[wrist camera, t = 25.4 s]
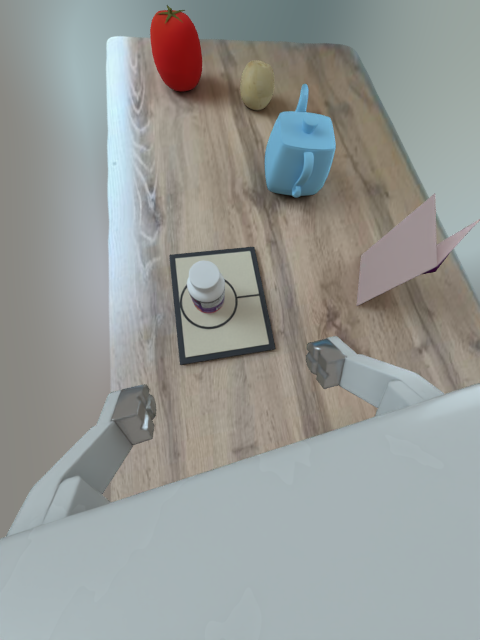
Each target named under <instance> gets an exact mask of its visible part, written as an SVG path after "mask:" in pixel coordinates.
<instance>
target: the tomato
mask: <svg viewBox="0 0 480 640" xmlns="http://www.w3.org/2000/svg"><path fill="white" fill-rule="evenodd" d="M167 8H168V10H167V11H166V10H164V11H158V12H157V13H156V14H155V16H154V17H153V19H152V23H151V29H150V32H151V46H152V53H153V57H154V62H155V65H156V67H157V70H158V72H159V74H160V76H161V78H162V80H163V81H164V82H165V84H166V85H167V86H169V87H170V88H171V89H173V90H176V91H188V90H191V89H193V88H194V87H195V86H196V85H197V84H198V82H199V79H200V77H201V72H202V54H201V47H200V41H199V38H198V34H197V31H196V29H195V26H194V24H193V23H192V21H191V20H190V18H189V17H188V16H187V15H186V14H184V13H182V12H181V11H184V10H179V11H173V10H172V9H171V8H169V6H167Z"/></svg>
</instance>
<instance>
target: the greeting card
mask: <svg viewBox="0 0 480 640" xmlns="http://www.w3.org/2000/svg"><path fill="white" fill-rule="evenodd" d="M479 221H480V219H479V220H477V221H476V222H474V223H472V224H471V225H469V226H467V227H466V228H464V229H462V230H461V231H459V232H457V233H455V234H454V235H452V236H450V237H449V238H447V239H445V240H444V241H442V242H440V243H439V244H437V245H436V209H435V194H434V195H432V196H431V197H430V198H429V199H427V200H426V201H425V202H424V203H423V204H422V205H420V206H419V207H418V208H417V209H416V210H414V211H413V212H412V213H411V214H410V215H408V216H407V217H406V218H405V219H404V220H403V221H401V222H400V223H399V224H398V225H397V226H395V227H394V228H393V229H392V230H391V231H389V232H388V233H387V234H386V235H385V236H383V237H382V238H381V239H380V240H379V241H378V242H376V243H375V244H374V245H373V246H372V247H370V248H369V249H368V250H367V251H366V252H364V253H363V254H362V255H361V263H360V274H359V285H358V296H357V306H358V305H360V304H362V303H364V302H366V301H368V300H370V299H372V298H374V297H376V296H378V295H380V294H382V293H384V292H386V291H388V290H390V289H392V288H394V287H396V286H398V285H400V284H402V283H404V282H406V281H408V280H410V279H412V278H414V277H416V276H418V275H421V274H426V273H431V272H435V271H436V270H437V269H438V268H439V266H440V265H441V264H442V262H443V261H444V260H445V259H446V257H447V256H448V255H449V253H450V252H451V251H452V250H453V249H454V248H455V246H456V245H457V244H458V243H459V242H460V241H461V240H462V239H463V238H464V237H465V236H466V235H467V234H468V232H469V231H470V230H471V229H472V228H473V227H474V226H475V225H476V224H477V223H478V222H479Z"/></svg>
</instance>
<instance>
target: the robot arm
mask: <svg viewBox="0 0 480 640" xmlns="http://www.w3.org/2000/svg"><path fill="white" fill-rule="evenodd" d="M307 350H308V351H309V352H308V354H307V355H306V363H307V366H308V368H309V370H310V371H311V373H313V374H315V375H317V377H316V379H317V381H318V382H319V383H320V385H321V386H322V387H323V389H326V388H330V387H334V386H338V385H339V386H340V387H342V388H344V389H346V390H347V391H349V392H351V393H353V394H354V395H356V396H358V397H359V398H361V399H363V400H365V401H366V402H368V403H370V404H371V405H373V406H375V407H377V408H378V409H377V412H376V414H375V417H373V418H370V419H367V420H363V421H360V422H357V423H354V424H351V425H348V426H345V427H342V428H339V429H336V430H333V431H330V432H327V433H323V434H320V435H317V436H314V437H311V438H308V439H305V440H302V441H299V442H296V443H293V444H290V445H286V446H283V447H280V448H277V449H274V450H271V451H268V452H265V453H262V454H259V455H256V456H253V457H250V458H247V459H244V460H240V461H237V462H234V463H231V464H228V465H225V466H222V467H219V468H216V469H213V470H210V471H207V472H204V473H201V474H197V475H194V476H191V477H188V478H185V479H182V480H179V481H176V482H173V483H170V484H167V485H164V486H161V487H158V488H154V489H151V490H148V491H145V492H142V493H139V494H136V495H133V496H130V497H127V498H124V499H121V500H118V501H114V502H110V501H109V500H108V499H107V498H105V497H104V496H103V495H102V494H103V492H104V491H105V489H106V488H107V486H108V485H109V483H110V481H111V480H112V478H113V477H114V475H115V474H116V472H117V470H118V469H119V467H120V466H121V464H122V463H123V461H124V459H125V458H126V456H127V455H128V453H129V452H130V450H131V448H132V447H133V446H132V445H135V444H138V443H141V442H144V441H147V440H150V439H153V432H154V423H153V421H152V420H153V419H154V417H155V416H156V403H155V399H154V397H153V396H152V395H150V394H149V390H150V389H149V388H148V386H147V385H145V384H144V385H140V386H135V387H131V388H127V389H123V390H119V391H114V392H111V393H110V394H109V395H108V397H107V399H106V402H105V405H104V407H103V410H102V412H101V415H100V417H99V420H98V422H97V425H96V426H93V427H92V428H91V429H90V430H89V431H88V432H87V433H86V434H85V435H84V436H83V437H82V438H81V439H80V440H79V441H78V442H77V443H76V444H75V445H74V446H73V447H72V448H71V449H70V450H69V451H68V452H67V453H66V454H65V455H64V456H63V457H62V458H61V459H60V460H59V461H58V462H57V463H56V464H55V465H54V466H53V467H52V468H51V469H50V470H49V471H48V472H47V473H46V474H45V475H44V476H43V477H42V478H41V479H40V480H39V481H38V482H37V483H36V484H35V485H34V486H33V487H32V488H31V490H30V492H29V494H28V496H27V498H26V500H25V502H24V504H23V505H22V507H21V509H20V511H19V513H18V515H17V517H16V519H15V520H14V522H13V524H12V526H11V528H10V530H9V532H8V534H7V535H6V537H4V538H1V539H0V640H480V383H477V384H474V385H471V386H468V387H465V388H462V389H459V390H456V391H453V392H450V393H446V394H444V393H443V392H441V391H440V390H439V389H437V388H436V387H435V386H433V385H432V384H431V383H429V382H428V381H426V380H425V379H424V378H422V377H421V376H420V375H418V374H417V373H415V372H412V371H409V370H406V369H403V368H400V367H397V366H394V365H391V364H388V363H385V362H382V361H379V360H376V359H374V358H371V357H368V356H365V355H362V354H359V355H358V354H356V353H355V352H354V351H353V350H352V349H351V348H349V347H348V346H347V345H346V344H345V343H344V342H343V341H341V340H340V339H339V338H338V337H336V336H333V337H329V338H326V339H322V340H318V341H314V342H310V343H308V344H307Z"/></svg>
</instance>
